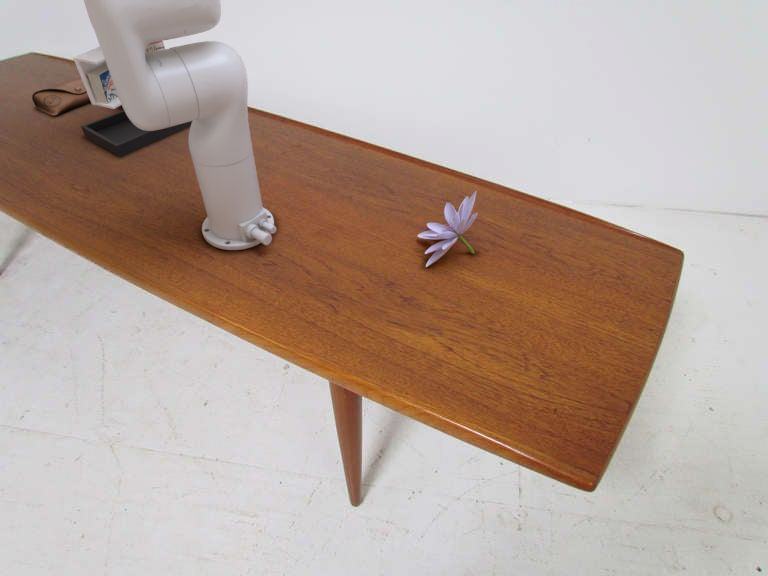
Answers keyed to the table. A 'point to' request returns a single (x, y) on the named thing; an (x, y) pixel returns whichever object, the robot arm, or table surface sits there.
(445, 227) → the water lily
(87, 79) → the cigarette display
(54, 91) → the sunglasses case
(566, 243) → the table surface
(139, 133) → the tray
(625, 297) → the table surface
